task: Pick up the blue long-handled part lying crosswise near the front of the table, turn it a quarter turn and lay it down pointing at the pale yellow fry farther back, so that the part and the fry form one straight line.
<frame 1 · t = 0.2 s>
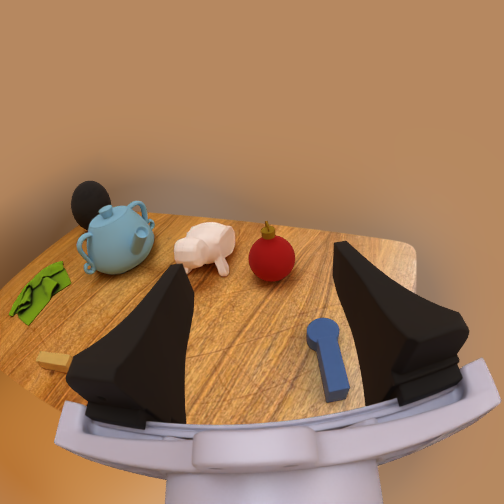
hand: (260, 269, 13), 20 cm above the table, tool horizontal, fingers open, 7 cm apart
christmas ornament: (274, 276, 44), on the table
teapot: (132, 261, 54), on the table
cloth: (38, 294, 49), on the table
fry: (59, 365, 32), on the table
decorative egg: (100, 228, 72), on the table
white animal figurine: (210, 266, 49), on the table
blue long-handled part: (330, 374, 28), on the table
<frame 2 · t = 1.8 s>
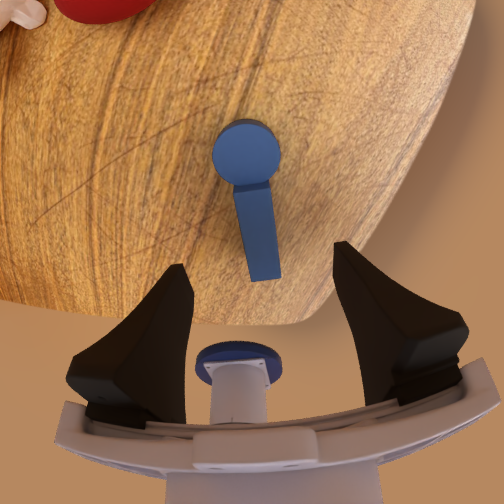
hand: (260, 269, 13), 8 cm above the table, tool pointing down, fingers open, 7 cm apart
white animal figurine: (18, 12, 7), on the table
blue long-handled part: (258, 217, 20), on the table
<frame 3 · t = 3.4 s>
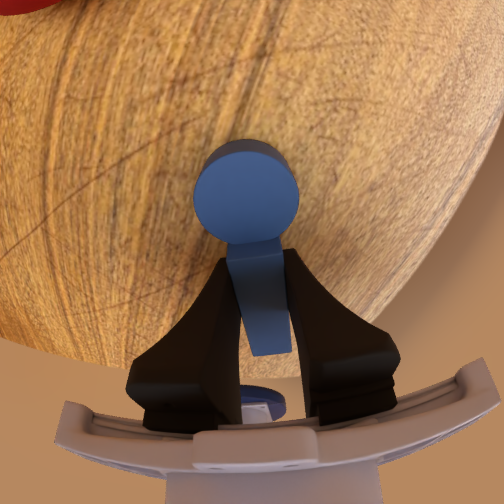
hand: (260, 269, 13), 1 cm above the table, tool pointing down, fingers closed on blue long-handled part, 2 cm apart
blue long-handled part: (262, 274, 15), on the table, touching gripper
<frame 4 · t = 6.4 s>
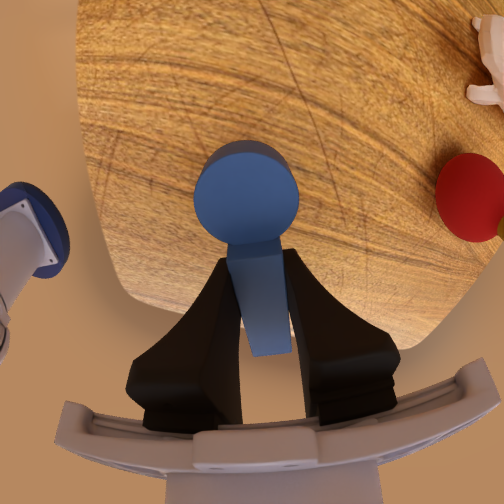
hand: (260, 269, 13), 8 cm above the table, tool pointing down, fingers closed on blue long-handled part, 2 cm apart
christmas ornament: (448, 178, 18), on the table
white animal figurine: (487, 69, 12), on the table
blue long-handled part: (262, 274, 15), point 7 cm above the table, touching gripper
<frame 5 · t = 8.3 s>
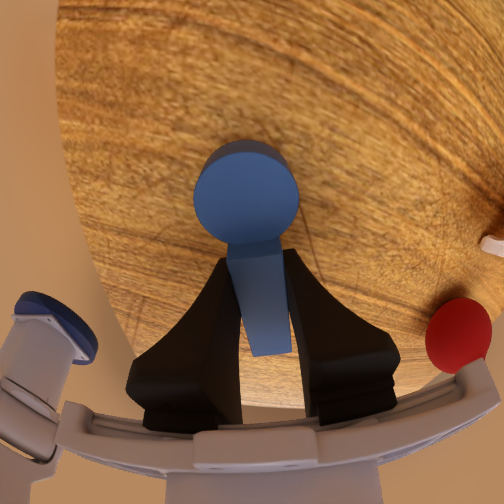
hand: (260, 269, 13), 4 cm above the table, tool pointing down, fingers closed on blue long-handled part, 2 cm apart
christmas ornament: (443, 307, 21), on the table
blue long-handled part: (262, 274, 15), point 2 cm above the table, touching gripper
when the fingers open (1 cm above the table, at t = 9.2 s): blue long-handled part stays where it is, on the table.
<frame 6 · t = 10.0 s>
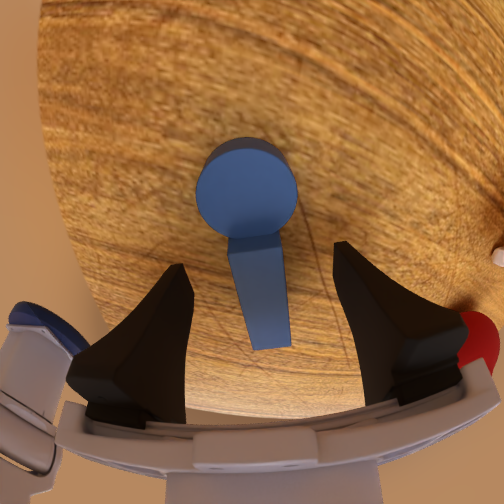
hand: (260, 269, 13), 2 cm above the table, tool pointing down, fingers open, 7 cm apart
christmas ornament: (450, 320, 20), on the table
blue long-handled part: (262, 269, 15), on the table
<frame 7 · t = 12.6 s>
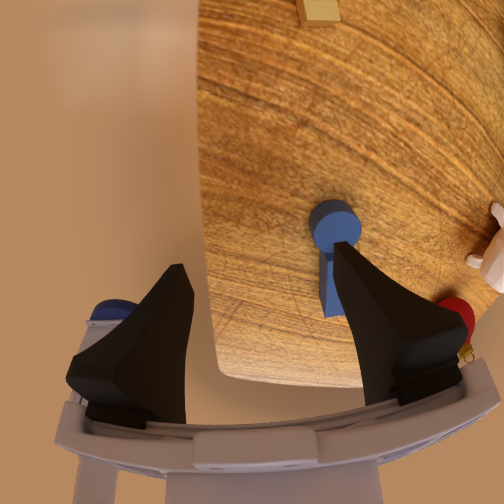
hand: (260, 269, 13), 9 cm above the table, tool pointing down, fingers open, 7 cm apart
christmas ornament: (440, 304, 30), on the table
white animal figurine: (489, 233, 23), on the table
blue long-handled part: (330, 269, 25), on the table
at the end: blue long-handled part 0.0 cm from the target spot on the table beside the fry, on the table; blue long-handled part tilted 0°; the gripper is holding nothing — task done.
